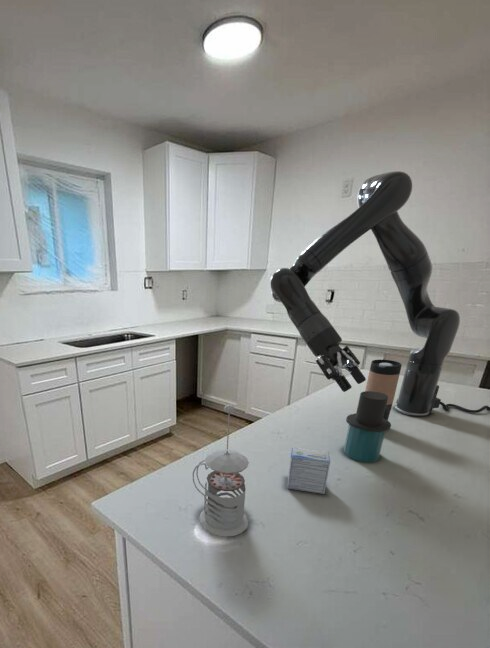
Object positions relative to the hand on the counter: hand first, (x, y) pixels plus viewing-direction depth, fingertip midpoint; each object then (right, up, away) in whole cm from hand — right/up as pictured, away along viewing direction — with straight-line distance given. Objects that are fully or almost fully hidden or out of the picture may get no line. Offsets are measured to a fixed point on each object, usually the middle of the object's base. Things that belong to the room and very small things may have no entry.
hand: (355, 385), depth 91 cm
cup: (+4, -18, +4) cm, 18 cm away
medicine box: (-16, -24, -9) cm, 30 cm away
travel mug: (+15, -11, +19) cm, 26 cm away
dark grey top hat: (+3, -11, +1) cm, 12 cm away
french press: (-37, -29, -18) cm, 50 cm away
